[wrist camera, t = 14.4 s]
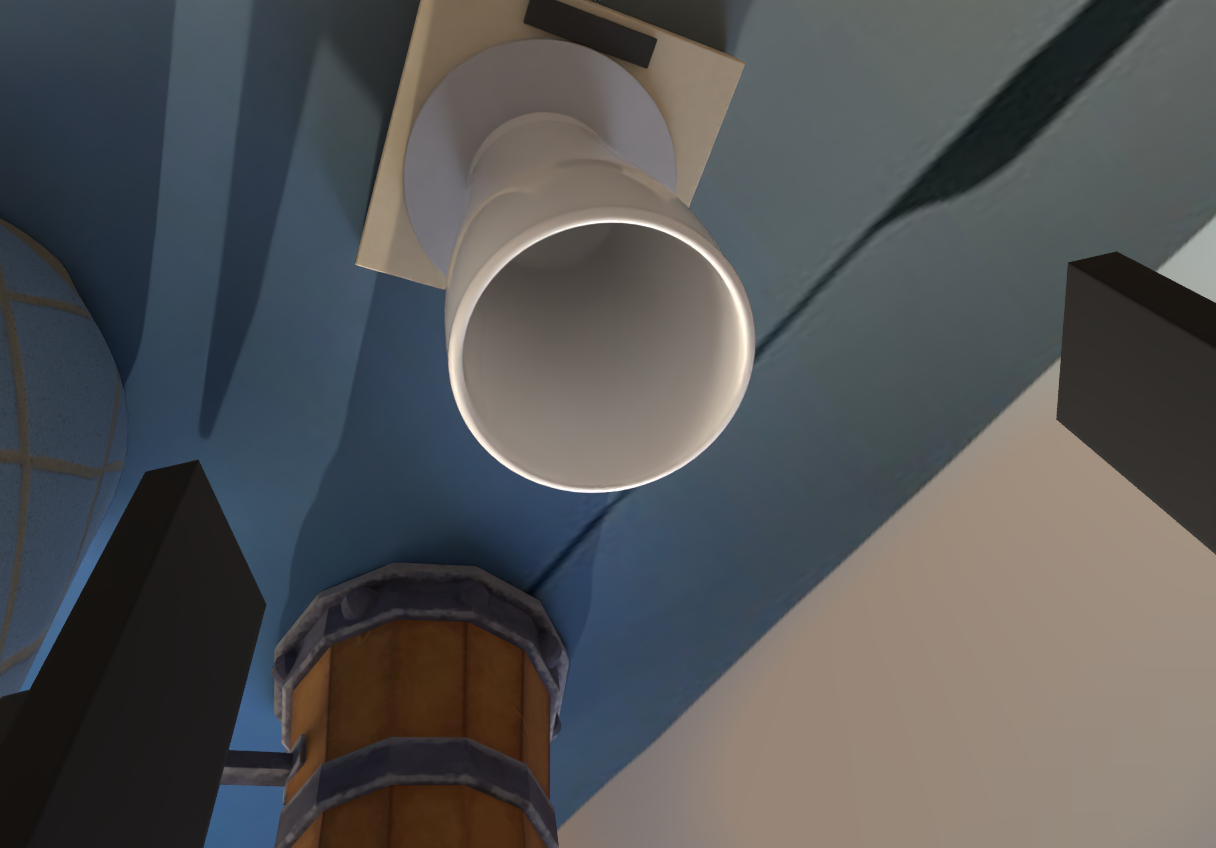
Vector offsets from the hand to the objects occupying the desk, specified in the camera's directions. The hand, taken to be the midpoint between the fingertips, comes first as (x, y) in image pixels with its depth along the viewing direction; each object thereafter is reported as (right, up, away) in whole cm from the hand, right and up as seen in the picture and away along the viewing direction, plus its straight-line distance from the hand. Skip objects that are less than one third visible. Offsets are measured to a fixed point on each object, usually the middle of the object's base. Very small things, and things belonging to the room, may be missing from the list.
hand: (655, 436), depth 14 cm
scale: (-3, +10, +21) cm, 24 cm away
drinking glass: (-3, +9, +19) cm, 21 cm away
